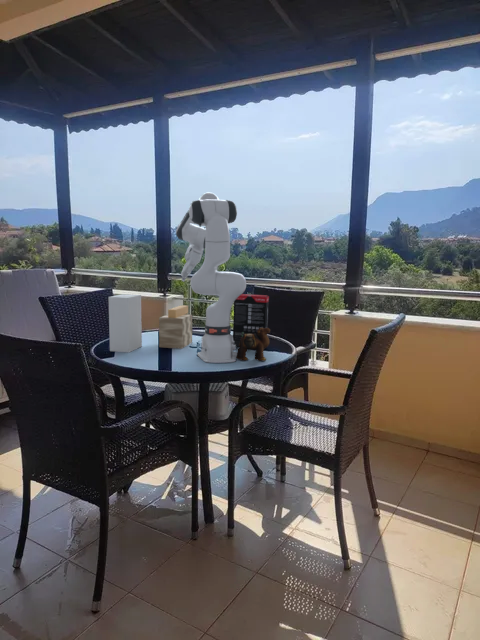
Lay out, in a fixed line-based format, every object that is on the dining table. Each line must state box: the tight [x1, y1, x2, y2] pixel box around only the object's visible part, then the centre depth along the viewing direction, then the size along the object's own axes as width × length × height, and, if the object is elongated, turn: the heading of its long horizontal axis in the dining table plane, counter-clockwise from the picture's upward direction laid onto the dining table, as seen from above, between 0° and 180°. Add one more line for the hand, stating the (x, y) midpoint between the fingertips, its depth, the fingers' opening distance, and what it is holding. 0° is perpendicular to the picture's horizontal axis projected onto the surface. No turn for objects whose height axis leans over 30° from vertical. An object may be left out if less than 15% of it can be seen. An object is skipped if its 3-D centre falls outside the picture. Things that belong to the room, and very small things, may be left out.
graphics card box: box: [232, 293, 270, 351], centre depth 221 cm, size 17×7×27 cm, turn 76°
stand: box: [108, 293, 143, 353], centre depth 213 cm, size 14×10×26 cm
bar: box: [167, 304, 189, 318], centre depth 228 cm, size 19×4×4 cm, turn 168°
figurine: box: [236, 327, 271, 362], centre depth 197 cm, size 9×15×15 cm, turn 84°
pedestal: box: [158, 313, 193, 350], centre depth 226 cm, size 16×12×15 cm
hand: (185, 277), depth 236 cm, fingers open, 8 cm apart
